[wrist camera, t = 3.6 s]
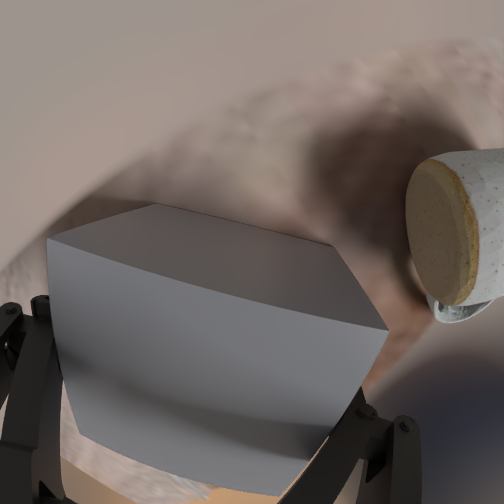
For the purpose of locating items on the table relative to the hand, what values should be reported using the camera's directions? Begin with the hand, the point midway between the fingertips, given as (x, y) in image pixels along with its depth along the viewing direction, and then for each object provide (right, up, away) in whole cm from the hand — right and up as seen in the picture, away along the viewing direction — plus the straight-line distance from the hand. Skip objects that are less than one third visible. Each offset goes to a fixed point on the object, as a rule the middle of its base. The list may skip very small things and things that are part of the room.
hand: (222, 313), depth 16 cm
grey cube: (0, 0, +1) cm, 1 cm away
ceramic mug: (+14, +5, -2) cm, 15 cm away
